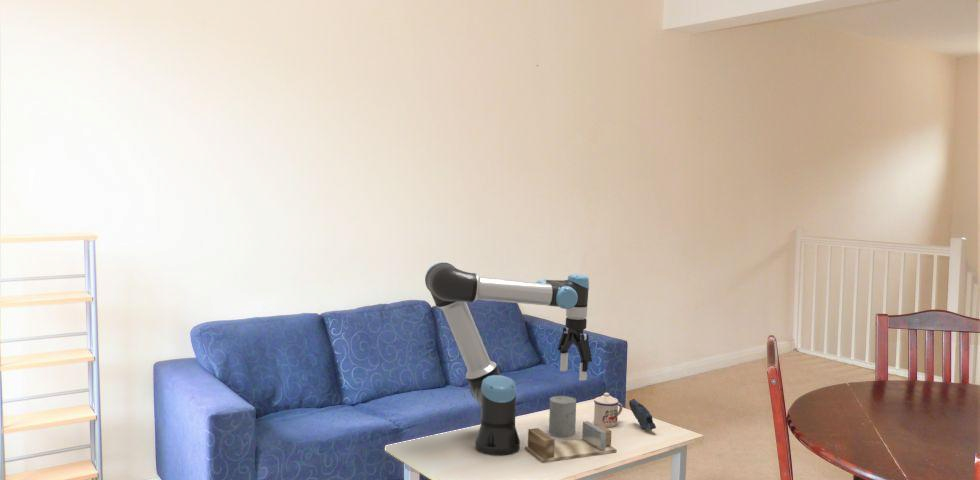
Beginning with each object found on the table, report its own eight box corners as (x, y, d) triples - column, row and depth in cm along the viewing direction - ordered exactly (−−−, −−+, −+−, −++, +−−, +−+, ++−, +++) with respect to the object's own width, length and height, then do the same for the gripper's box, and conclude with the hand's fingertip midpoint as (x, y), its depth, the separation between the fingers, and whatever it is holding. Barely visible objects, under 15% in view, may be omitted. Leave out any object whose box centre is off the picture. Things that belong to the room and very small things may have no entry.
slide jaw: (600, 450, 258) (601, 432, 258) (582, 438, 269) (582, 421, 269) (615, 447, 261) (616, 430, 260) (597, 436, 272) (597, 419, 271)
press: (542, 462, 249) (542, 441, 249) (524, 449, 261) (525, 429, 261) (616, 452, 260) (617, 431, 260) (596, 439, 272) (597, 420, 272)
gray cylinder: (575, 429, 283) (576, 396, 282) (575, 438, 273) (576, 404, 272) (549, 428, 284) (549, 395, 283) (548, 436, 274) (549, 402, 273)
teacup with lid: (603, 429, 284) (604, 397, 283) (588, 421, 292) (589, 391, 291) (629, 424, 290) (630, 394, 289) (613, 417, 298) (614, 387, 297)
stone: (662, 432, 281) (663, 405, 281) (651, 435, 278) (652, 408, 277) (632, 422, 292) (633, 396, 291) (621, 425, 288) (622, 399, 288)
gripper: (604, 323, 270) (600, 383, 271) (567, 311, 292) (564, 366, 294) (585, 324, 266) (582, 384, 268) (550, 311, 289) (547, 367, 291)
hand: (573, 375), depth 281 cm, fingers open, 13 cm apart
